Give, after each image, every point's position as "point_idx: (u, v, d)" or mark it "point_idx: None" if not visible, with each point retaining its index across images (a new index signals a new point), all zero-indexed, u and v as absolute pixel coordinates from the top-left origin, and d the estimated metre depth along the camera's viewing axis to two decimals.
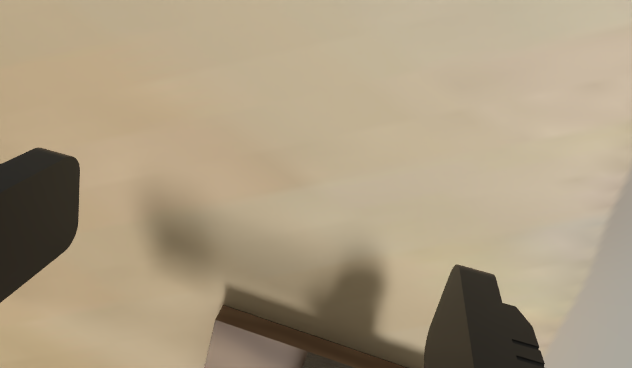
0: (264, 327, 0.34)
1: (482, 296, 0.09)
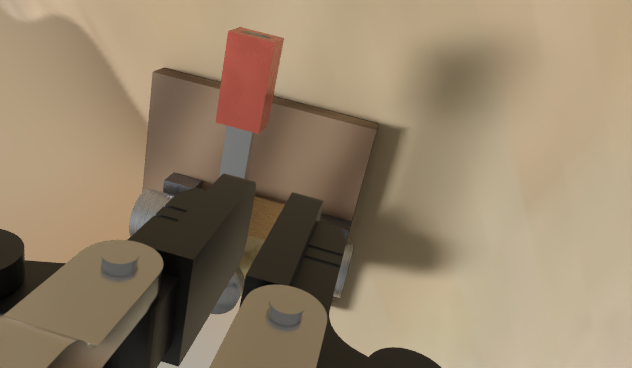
0: None
1: (299, 213, 0.10)
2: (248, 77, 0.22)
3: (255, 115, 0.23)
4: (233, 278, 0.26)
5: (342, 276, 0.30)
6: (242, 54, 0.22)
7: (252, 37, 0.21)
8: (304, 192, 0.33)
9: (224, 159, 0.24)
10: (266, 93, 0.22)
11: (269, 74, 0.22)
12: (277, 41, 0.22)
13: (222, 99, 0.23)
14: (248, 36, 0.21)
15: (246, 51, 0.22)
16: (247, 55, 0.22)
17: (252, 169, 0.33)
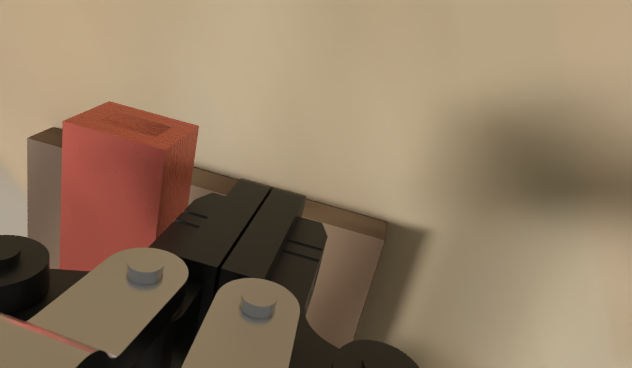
0: None
1: (279, 208, 0.10)
2: (114, 215, 0.10)
3: None
4: None
5: None
6: (98, 170, 0.10)
7: (116, 136, 0.10)
8: None
9: None
10: None
11: (159, 212, 0.10)
12: (176, 142, 0.10)
13: (67, 255, 0.11)
14: (107, 134, 0.10)
15: (106, 164, 0.10)
16: (109, 173, 0.10)
17: None
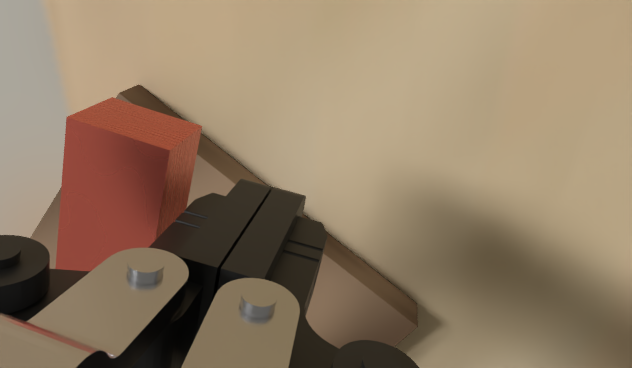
0: None
1: (279, 208, 0.10)
2: (115, 213, 0.10)
3: None
4: None
5: None
6: (100, 168, 0.10)
7: (121, 134, 0.10)
8: None
9: None
10: None
11: (161, 212, 0.10)
12: (180, 142, 0.10)
13: (64, 250, 0.11)
14: (112, 132, 0.10)
15: (108, 161, 0.10)
16: (111, 171, 0.10)
17: None
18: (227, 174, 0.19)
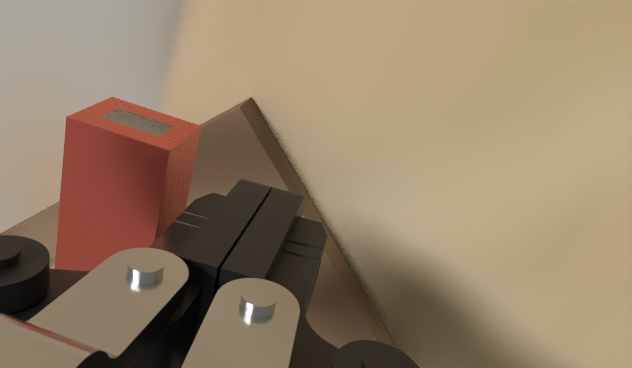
0: None
1: (279, 208, 0.10)
2: (114, 213, 0.10)
3: None
4: None
5: None
6: (100, 167, 0.10)
7: (120, 134, 0.10)
8: None
9: None
10: None
11: (160, 212, 0.10)
12: (180, 142, 0.10)
13: (64, 250, 0.11)
14: (111, 131, 0.10)
15: (108, 161, 0.10)
16: (111, 170, 0.10)
17: None
18: (307, 217, 0.19)
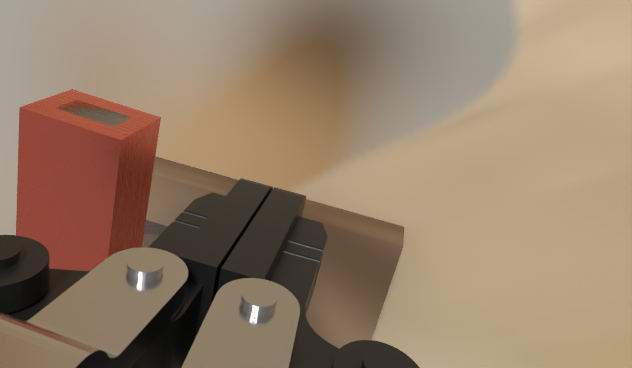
0: None
1: (280, 208, 0.10)
2: (71, 204, 0.10)
3: None
4: None
5: None
6: (54, 158, 0.10)
7: (73, 124, 0.10)
8: None
9: None
10: (113, 237, 0.10)
11: (115, 202, 0.10)
12: (134, 132, 0.10)
13: None
14: (64, 121, 0.10)
15: (62, 151, 0.10)
16: (65, 161, 0.10)
17: None
18: None
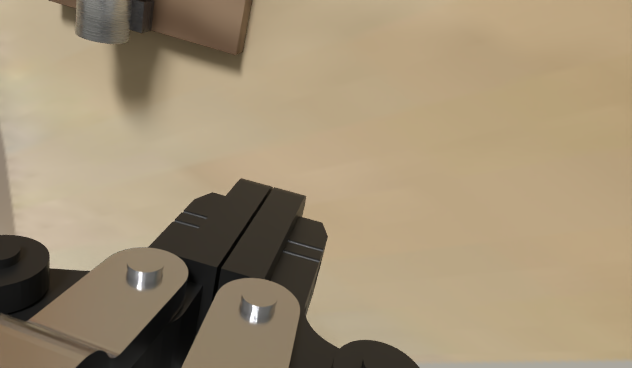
0: None
1: (279, 208, 0.10)
2: None
3: None
4: None
5: (97, 38, 0.32)
6: None
7: None
8: None
9: None
10: None
11: None
12: None
13: None
14: None
15: None
16: None
17: None
18: None
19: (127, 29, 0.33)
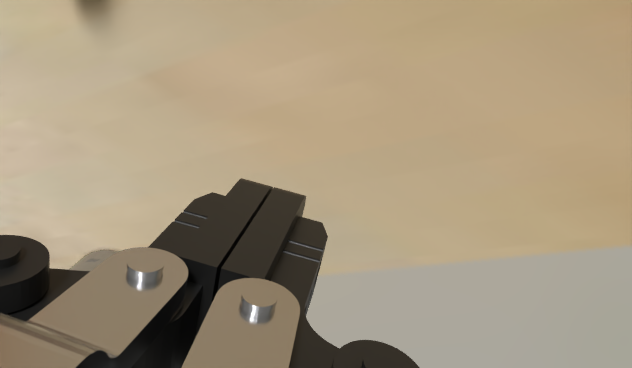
0: None
1: (280, 208, 0.10)
2: None
3: None
4: None
5: None
6: None
7: None
8: None
9: None
10: None
11: None
12: None
13: None
14: None
15: None
16: None
17: None
18: None
19: None
